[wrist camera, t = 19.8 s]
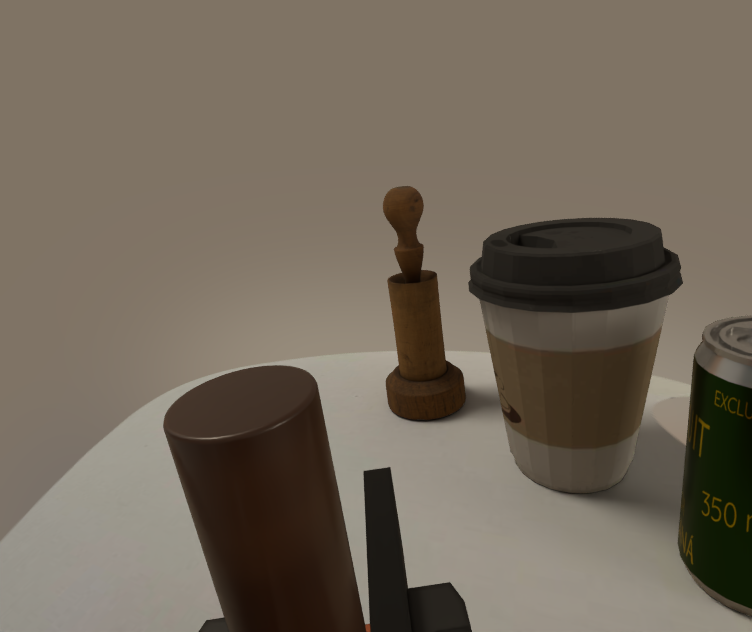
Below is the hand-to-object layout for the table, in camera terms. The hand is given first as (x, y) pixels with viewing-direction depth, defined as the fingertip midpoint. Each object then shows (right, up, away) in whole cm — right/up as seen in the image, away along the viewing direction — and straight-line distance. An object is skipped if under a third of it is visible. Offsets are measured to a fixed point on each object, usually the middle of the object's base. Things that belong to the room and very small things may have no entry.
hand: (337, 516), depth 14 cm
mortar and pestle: (+5, -2, +28) cm, 28 cm away
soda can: (+18, -7, +9) cm, 21 cm away
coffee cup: (+14, -4, +18) cm, 23 cm away
